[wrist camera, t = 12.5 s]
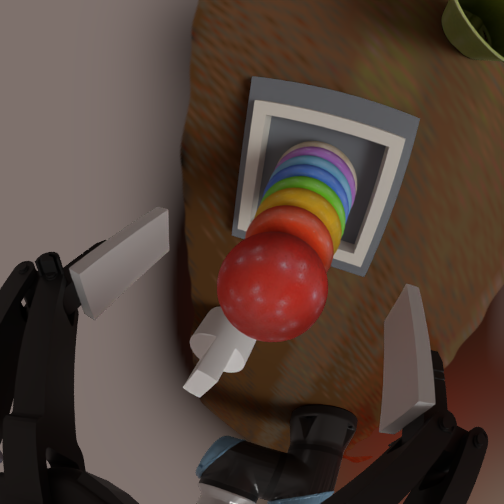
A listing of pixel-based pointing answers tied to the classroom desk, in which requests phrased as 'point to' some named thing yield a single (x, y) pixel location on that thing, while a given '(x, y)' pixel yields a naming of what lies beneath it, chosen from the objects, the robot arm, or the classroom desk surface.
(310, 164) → the stacking toy
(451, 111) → the classroom desk surface
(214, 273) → the classroom desk surface
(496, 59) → the plant pot
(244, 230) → the board
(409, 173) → the classroom desk surface
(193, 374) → the cylinder with rectangular tab
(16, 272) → the robot arm
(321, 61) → the classroom desk surface
